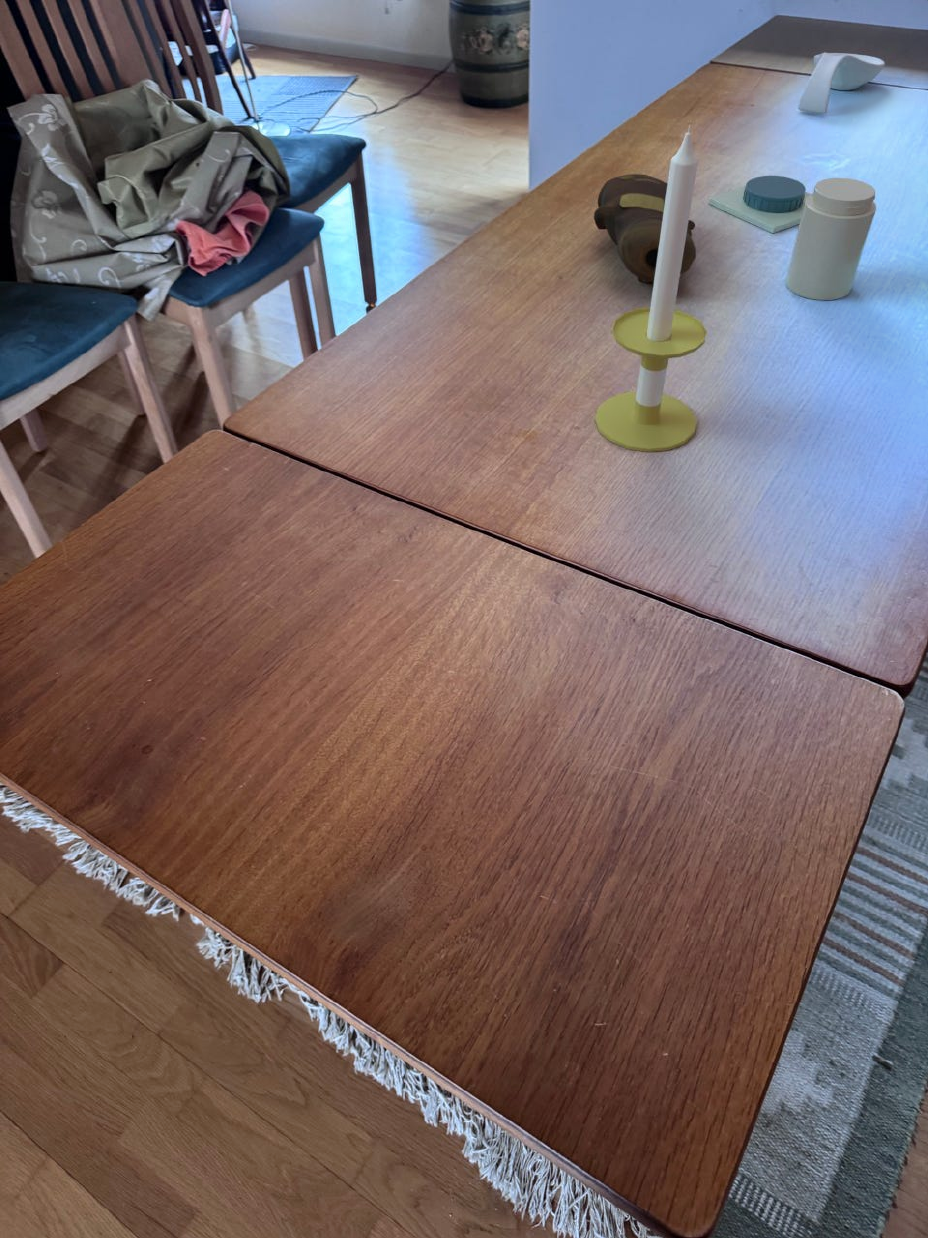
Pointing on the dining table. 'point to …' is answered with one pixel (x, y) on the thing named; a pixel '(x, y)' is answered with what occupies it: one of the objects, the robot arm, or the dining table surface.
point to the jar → (831, 238)
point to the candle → (658, 333)
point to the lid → (774, 194)
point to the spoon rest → (837, 77)
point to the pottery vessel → (638, 222)
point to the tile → (756, 211)
